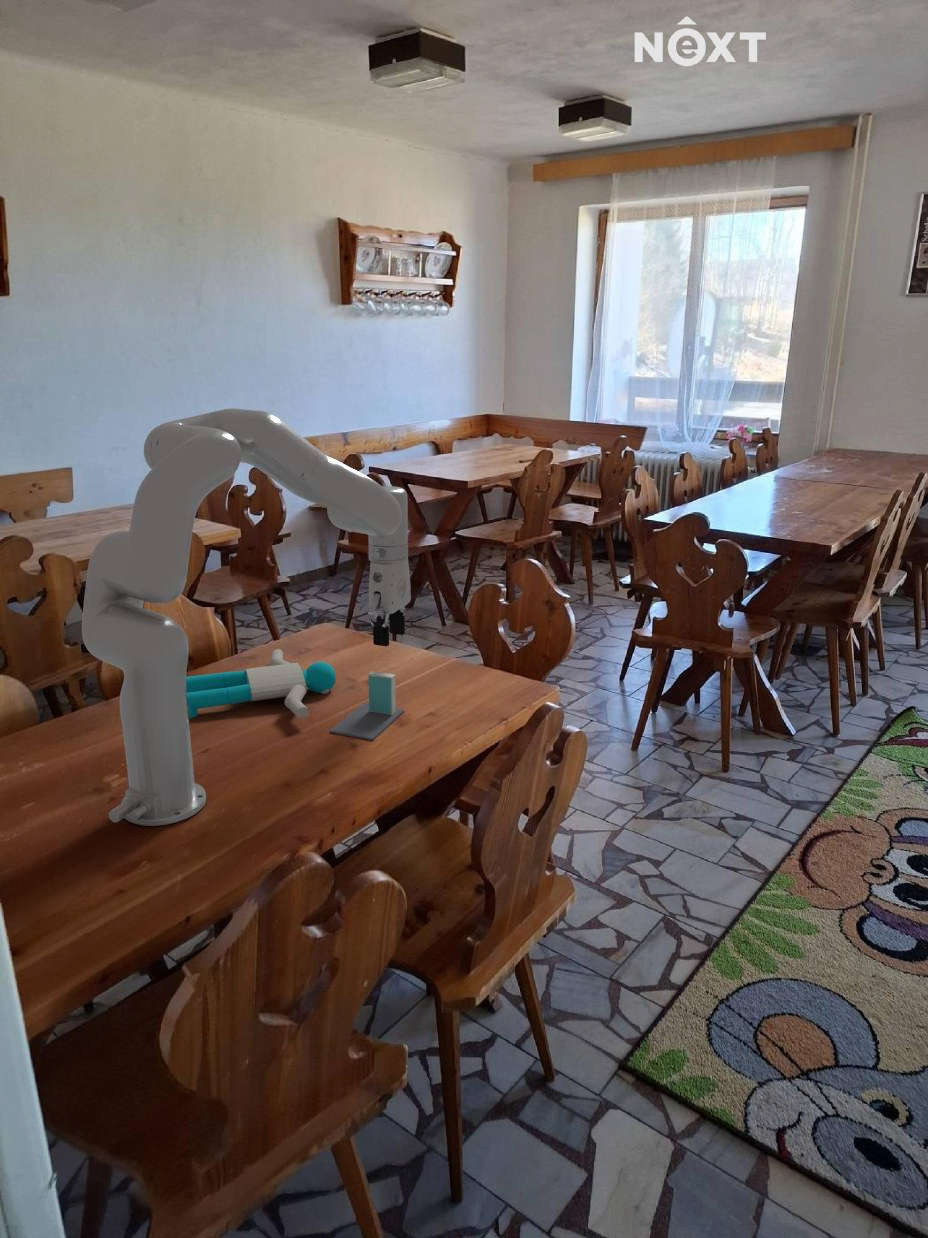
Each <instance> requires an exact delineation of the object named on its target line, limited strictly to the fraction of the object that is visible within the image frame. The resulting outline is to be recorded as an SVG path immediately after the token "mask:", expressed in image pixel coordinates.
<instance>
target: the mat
mask: <svg viewBox="0 0 928 1238" xmlns="http://www.w3.org/2000/svg"><path fill="white" fill-rule="evenodd" d="M403 713H405V709H402V708H396V712H395V713H394V714H393V715H387V714H381V713H375V712H370V711H369V702H367V703H366V702H363V703H361V704H360V705H359V706H358V707H356V708H355V709H354V710H352V712H350V713H349V714H347V716H346V717H344V718H343V719H342V720H340V722H338V723H336V725H334V726H333V727H331V728H330V730H329V733H330V734H336V735H341V736H347V737H352V738H356V739H357V738H358V739H363V740H368V741H374V740H375V739H376V738H377V737H378V736H380V735H381V734H382V732H384V731H385V730H387V728H388V727H390V726H391V724H393V723H394V722H395V721H396V720H397V719H398V718H399V717H400V716H401V715H402V714H403Z"/></svg>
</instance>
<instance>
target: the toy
mask: <svg viewBox="0 0 928 1238" xmlns="http://www.w3.org/2000/svg"><path fill="white" fill-rule="evenodd" d="M283 658H284V652H283V650H281V649H279V648H276V649H273V650H272V652H271V657H270V660H269V666H259V667H252V668H245V669H244V670H238V671H237V670H234V671H225V672H216V673H207V674H201V675H192V676H191V675H190V676H186V697H187V709H188V718H189V719H192V717H193V718H195V717H197V716H198V714H199V712H198V709H205V708H212V707H213V708H214V707H220V706H221V707H222V706H226V705H233V704H239V703H245V702H249V701H250V702H255V701H263V700H269V699H270V700H271V699H279V698H284V697H285V699H284V705H285V706H286V708H288V709H289V710H290V711H291V712H292V713H293V714H294V715H295V716H296V717H297V718H298V719H304V718H306V717H307V716H308V715H309V709H308V707H307V706H306V705H305V704H304V703H302V701H303V698H304V697H305V695H306V694H307V692H308V690H307V688H308V689H309V690H310V691H312V692H314V693H316V694H319V693H321V694H323V695H326V694H328V693H329V692H330V690H331V689H333V687H334V686H335V684H336V682H337V681H336V680H337V675H336V671H335V669H334V667H333V666H332V665H331V664H329V663H327V662H324V661H316V662H314V663H312V664H310V665H309V666H308V667H307V669H305V670H303V669H302V667H301V665H300V664H299V663H298V662H292V663H290V662H288V661H287V660H285V659H283Z"/></svg>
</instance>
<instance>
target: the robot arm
mask: <svg viewBox="0 0 928 1238" xmlns="http://www.w3.org/2000/svg"><path fill="white" fill-rule="evenodd" d="M143 457H144V460H145V462H146V465H148V468H150V471H149V472H148V473H147V474H146V475H145V477H144V478H143V479H142V481H141V483H140V485H139V487H138V489H137V492H136V495H135V497H134V502H133V507H132V513H131V518H130V524H129V530H117V531H113V532H111V533H109V534H107V535H105V536H104V537H103V538H101V539H100V540H99V541H98V543H97V544H96V545H95V547H94V548H93V550H92V553H91V555H90V557H89V561H88V564H87V572H86V580H85V590H84V596H83V597H84V598H83V599H84V600H83V606H82V607H83V609H82V615H81V617H82V618H81V635H82V640H83V644H84V647H86V649H87V651H88V652H89V653H90V655H92V656H94V657H95V658H96V659H98V660H100V661H102V662H104V663H107V664H109V665H111V666H114V667H116V668H117V669H120V670H121V671H122V672H123V682H122V686H121V689H120V694H119V713H120V714H119V715H120V720H121V726H122V735H123V743H124V753H125V759H126V769H127V778H128V786H129V787H128V788H127V789H125V790H124V793H125V797H124V798H123V799H122V801H121V803H120V804H119V805H117V806H116V807H115V808H113V809H112V810H110V811H109V812H108V818H109V820H110V821H111V822H113V823H118V822H120V821H121V820H123V819H125V820H126V821H128V822H129V823H132V824H135V825H140V826H147V827H150V826H151V827H157V826H158V827H159V826H165V825H171V824H176V823H179V822H181V821H183V820H186V819H189V818H190V817H192V816H194V815H196V814H197V813H198V812H200V811H201V810H202V808H203V807H204V806H205V804H206V803H207V795H206V790H205V788H204V786H203V787H202V786H201V784H198V783H196V782H195V775H194V762H193V754H192V753H193V751H192V745H191V744H192V743H191V741H192V740H191V732H190V721H189V720H190V718H189V712H188V703H187V695H186V677H187V668H188V661H189V660H188V659H189V652H190V651H189V649H190V648H189V641H188V637H187V635H186V633H185V631H184V630H183V628H182V627H181V625H179V623H177V622H176V620H173V619H172V618H170V617H168V616H166V615H164V614H161V613H159V612H156V611H153V610H150V609H147V608H143V607H144V602H145V603H149V604H155V605H156V604H157V605H165V604H170V603H171V602H174V601H176V600H177V599H179V597H180V596H181V594H182V593H183V591H184V589H185V586H186V583H187V577H188V570H189V563H190V562H189V561H190V554H191V553H190V552H191V546H192V536H193V529H194V526H195V525H194V524H195V518H196V516H197V512H198V509H199V507H200V505H201V504H202V502H203V501H204V499H205V498H206V497H207V496H208V495H209V494H210V493H211V492H212V491H213V490H214V489H216V488H217V487H219V486H220V485H222V484H224V483H226V482H227V481H228V480H230V479H231V478H232V477H233V476H234V475H235V473H236V472H237V470H238V469H239V466H240V465H241V464H240V463H242V464H247V465H250V466H253V467H254V468H256V469H258V470H259V471H261V472H262V473H263V474H264V475H267V476H268V477H269V478H270V479H272V480H273V481H275V482H276V483H278V484H279V485H280V486H281V487H284V489H286V490H287V491H289V492H290V493H291V494H293V495H294V496H297V497H299V498H301V499H304V500H306V501H309V502H311V503H314V504H317V505H321V506H325V507H327V508H326V510H327V511H326V513H327V516H328V519H329V521H330V522H331V523H332V524H333V525H334V526H335V527H336V528H339V529H341V530H343V531H347V532H351V533H352V532H353V533H357V534H358V533H359V534H365V535H368V560H369V562H370V565H369V577H368V580H369V581H368V604H369V609H368V612H367V615H368V616H369V618H370V621H371V627H372V638H373V639H372V642H373V646H380V647H381V646H382V647H386V648H387V647H389V646H390V634H392V635H400V636H403V635H405V633H406V616H405V615H406V612H407V611H406V606H407V605H408V604H410V602H411V600H412V595H411V593H412V591H411V576H410V575H411V574H410V572H411V571H410V564H409V542H408V541H409V538H408V535H409V533H408V531H409V530H408V529H409V527H408V526H409V525H408V519H409V518H408V515H409V514H408V513H409V512H408V506H409V505H408V501H409V500H408V494H407V491H406V490H405V489H404V488H402V487H399V486H395V485H391V486H390V485H387V486H386V485H384V486H383V485H381V484H379V482H376V481H375V480H374V479H372V478H370V477H369V476H367V475H365V474H363V473H361V472H360V471H358V470H356V469H353V468H352V467H350V466H349V465H347V464H344V463H343V462H341V461H339V460H337V459H335V458H333V457H330V456H328V455H327V454H325V453H324V452H323V451H321V450H320V449H318V448H317V447H316V446H315V445H313V444H312V443H311V442H310V441H308V440H307V439H306V438H305V437H303V436H302V435H301V434H299V432H297V430H295V429H293V428H292V427H291V426H290V425H289V424H287V423H286V422H284V421H283V420H282V419H280V417H278V416H276V415H275V414H272V413H269V412H267V411H264V410H253V409H244V408H241V409H240V408H226V409H225V408H224V409H219V410H214V411H211V412H206V413H202V414H198V415H193V416H189V417H184V418H180V419H176V420H175V419H174V420H171V421H167V422H164V423H161V424H160V425H158V426H156V427H154V428H153V429H152V430H151V431H150V432H149V434H147V436H146V439H145V441H144V445H143ZM381 608H383V609H384V610H381ZM379 614H380V615H383V618H382V616H380V615H379ZM388 621H389V624H388ZM388 625H389V626H388Z"/></svg>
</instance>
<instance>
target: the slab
mask: <svg viewBox="0 0 928 1238" xmlns="http://www.w3.org/2000/svg"><path fill="white" fill-rule="evenodd" d="M367 677H368V704H369V711H370V712H375V713H381V714H387V715H393V714H394V713H395V712H396V702H397V701H396V674H393V673H388V672H383V671H376V670H371V671H370V672H369V673H368V675H367Z"/></svg>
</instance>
